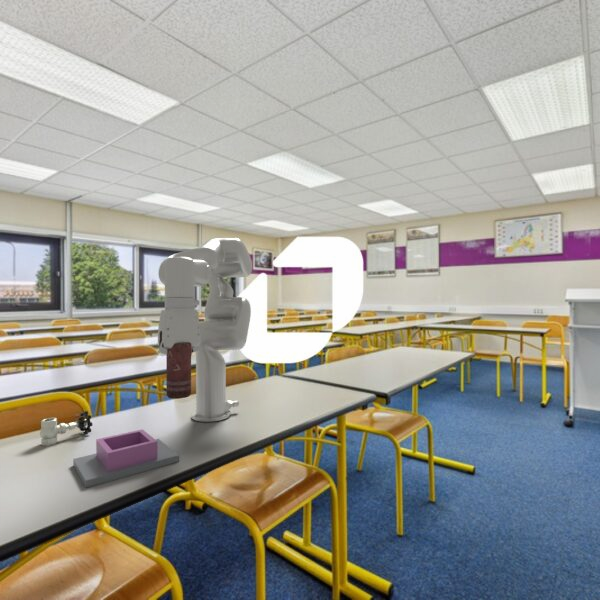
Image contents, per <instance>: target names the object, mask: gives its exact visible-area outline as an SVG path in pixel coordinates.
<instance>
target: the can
mask: <svg viewBox="0 0 600 600" xmlns="http://www.w3.org/2000/svg"><path fill="white" fill-rule="evenodd" d="M166 349H167V348H166ZM167 350H168V354H165V355H166V396H167V398H168V399H172V400H174V399H176V400H177V399H185V398H188V397H190V396H191V394H192V355H193V354H192V353H193V352H192V344H191V343H190V342H187V343H182V344H174V345H173V346H172V348H171V349H167Z"/></svg>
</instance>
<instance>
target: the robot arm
mask: <svg viewBox="0 0 600 600" xmlns="http://www.w3.org/2000/svg"><path fill="white" fill-rule="evenodd" d="M252 271H253V261H252V258H251V255H250V253H249V251H248V249H247V247H246V245H245V243H244V241H242V240H241V239H239V238H237V237H235V238H234V237H233V238H232V237H221V238H215V237H214V238H211V239H208V240H206V241H205V242H204V243H201V245H199V246H198V247H194V248H192V249H191V248H190V249H188V250H185V251H180V252H177V253H173V254H171V255H169V256H168V257H166V258H165V259H164V260H162V262H161V263H160V265H159V267H158V279H159V281H160V282H161V283H162V285H164V309H161V311H160V315H159V321H158V329H157V346H158V347H159V349H158V352H159V354H162V355H166V354H168V350H167V349H171V348H172V346H173V345H174V344H182V343H187V342H190V343H191V344H192V353H195V391H196V395H195V396H196V398H195V399H196V400H195V401H196V403H195V405H196V407H195V408H196V410H195V411H193V412H192V413H191V419H192V420H193V421H195V422H199V423H200V422H202V423H211V422H218V421H223V420H226V419H228V418H229V417H230V416H231V410H230V409H231V408H236V407H239V404H240V401H239V400H234V401H232V400H227V398H226V397H227V392H226V391H227V389H226V386H227V384H226V381H227V380H226V375H227V374H226V371H227V369H226V367H227V365H226V360H225V358H224V357H223V355H222V354H221V352H220V351H236V350H237V351H238V350H242V349H243V348H244V347H245V346H246V343H247V340H248V339H247V338H248V334H249V327H250V322H251V313H252V309H251V303H250V301H249V300H248V299H247V298H245V297H242V296H241V297H240V296H238V297H237V296H234V289H233V288H232V286H231V285H230V283H229V282H228V281H227V280H226V279H224V278H246V277H249V276H250V275H251V274H252ZM207 285H208V286H209V294H208V296H207V300H206V303H205V308H204V313H203V315H204V318H205V320H203V321H200V317H199V313H198V310H197V309H196V306H199V305H200V300H198V299H196V297H195V296H196V295H195V294H196V293H195V292H196V289H195V288H196V287H204V286H207ZM166 348H167V349H166Z"/></svg>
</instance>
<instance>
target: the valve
mask: <svg viewBox="0 0 600 600" xmlns="http://www.w3.org/2000/svg"><path fill="white" fill-rule="evenodd" d="M79 416H80V417H78V419H77V421H76V422H74V421H73V422H69V423H68V424H67V423H65V422H60V423H58V418H57V417H48V418H44V419H42V420H41V421H40V426H41V428H40V430H39V435H40V438H41V441H40V442H41V446H42V445H46V447H49V446H52V445H56V444H57V442H58V435H64V434H66V432H67V431H68V430H69V431H72V430H74V429H75V428H77V429H79V431H81V432H82V433H83V435H87V434H89V433H91V432H92V428H91V427H93V422H91V419H92V415H91V414H89V412H88V410H85V411H83V412H81V413H80V414H79Z"/></svg>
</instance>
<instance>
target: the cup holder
mask: <svg viewBox="0 0 600 600" xmlns="http://www.w3.org/2000/svg"><path fill="white" fill-rule="evenodd" d="M95 441H96V442H95V444H96V447H95V448H96V452H95V453H92V454H88V455H85V456H80V457H76V458H73V459H72V460H73V461H72V463H73V465H72V466H73V468H74V469H75V471H76V473H77V474H78V476H79V478H80V479H81V482H82V483H83V485H84V487H85V489H86V488H90V487H94V486H97V485H102V484H104V483H107V482H111V481H115V480H118V479H122V478H126V477H128V476H132V475H136V474H139V473H142V472H143V473H144V472H147V471H150V470H154V469H157V468H159V467H160V468H161V467H163V466H167V465H172V464H176V463H178V462H180V454H178V453H177V452H176V451H174V450H173V449H172V448H171V447H169V446H168V445H167V444H166V443H164V442H163V441H162V440H160V438H154V437H153V436H151V435H150V434H149V433H148V432H146V431H145V430H144V429H142V428H141V429H137V430H134V431H128V432H124V433H119V434H115V435H110V436H106V437H102V438H96V439H95Z"/></svg>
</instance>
